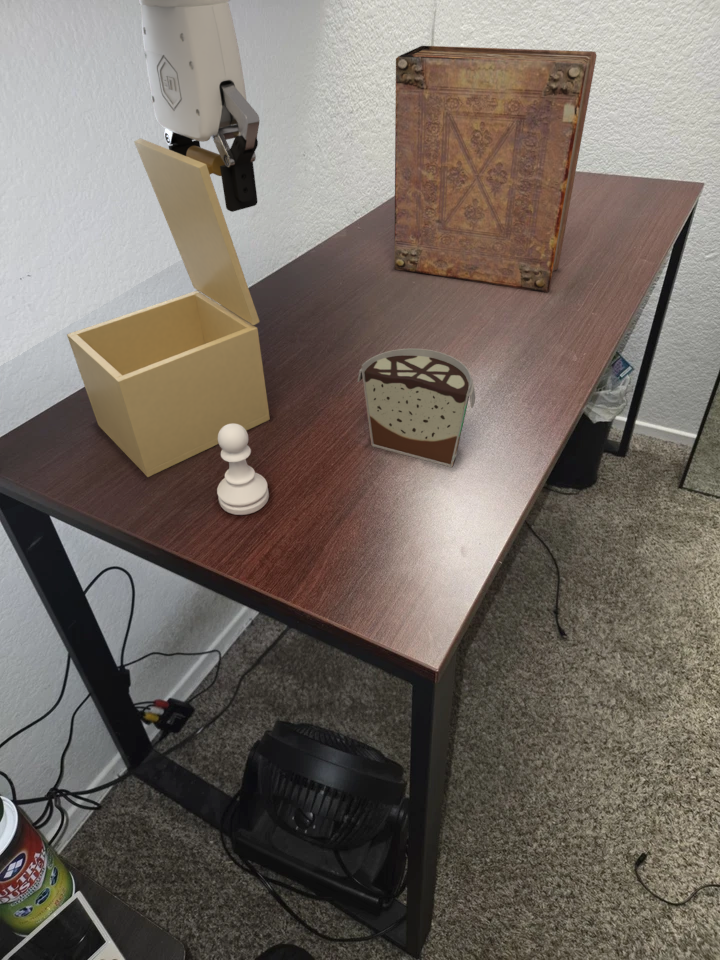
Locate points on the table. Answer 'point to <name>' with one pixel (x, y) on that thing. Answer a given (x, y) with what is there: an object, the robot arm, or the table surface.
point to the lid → (198, 223)
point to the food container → (417, 402)
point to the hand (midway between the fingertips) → (215, 196)
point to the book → (487, 160)
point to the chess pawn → (239, 474)
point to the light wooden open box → (172, 378)
